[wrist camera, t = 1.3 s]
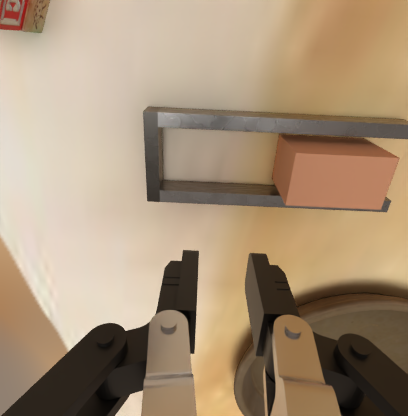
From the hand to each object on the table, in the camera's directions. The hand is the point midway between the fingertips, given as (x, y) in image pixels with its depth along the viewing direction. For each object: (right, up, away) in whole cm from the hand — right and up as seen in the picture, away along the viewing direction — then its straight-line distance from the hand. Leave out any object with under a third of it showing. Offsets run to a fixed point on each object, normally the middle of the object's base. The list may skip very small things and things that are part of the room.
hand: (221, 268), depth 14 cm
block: (+10, +8, +15) cm, 20 cm away
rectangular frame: (+6, +8, +15) cm, 18 cm away
